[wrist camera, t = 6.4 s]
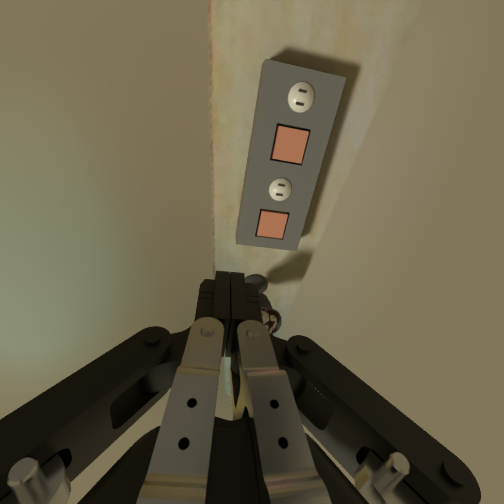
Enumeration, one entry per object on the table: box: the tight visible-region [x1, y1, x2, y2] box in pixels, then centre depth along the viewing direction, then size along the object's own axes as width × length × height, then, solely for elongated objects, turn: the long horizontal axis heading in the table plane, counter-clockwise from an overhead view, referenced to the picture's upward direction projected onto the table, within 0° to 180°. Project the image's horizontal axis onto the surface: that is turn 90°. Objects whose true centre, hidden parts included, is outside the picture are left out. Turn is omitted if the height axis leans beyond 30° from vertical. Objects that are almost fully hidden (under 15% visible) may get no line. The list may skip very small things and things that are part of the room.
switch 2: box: [271, 125, 309, 163], centre depth 35 cm, size 4×4×2 cm
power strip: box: [236, 59, 346, 251], centre depth 37 cm, size 24×10×4 cm, turn 170°
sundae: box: [245, 275, 281, 335], centre depth 42 cm, size 7×7×15 cm
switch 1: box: [256, 209, 288, 239], centre depth 40 cm, size 4×4×2 cm
